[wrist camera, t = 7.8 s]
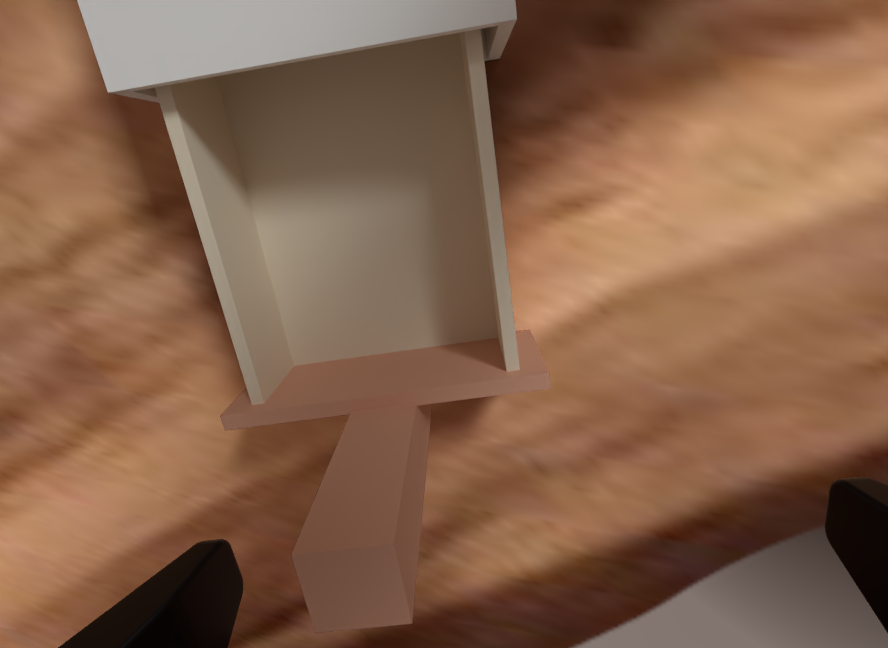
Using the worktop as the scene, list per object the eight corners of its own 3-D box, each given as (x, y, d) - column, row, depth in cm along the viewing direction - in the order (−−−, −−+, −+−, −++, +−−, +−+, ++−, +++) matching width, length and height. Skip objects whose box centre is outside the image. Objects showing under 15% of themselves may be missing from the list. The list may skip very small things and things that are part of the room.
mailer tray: (483, -115, 14) (538, -650, 5) (536, 388, 19) (614, 603, 10) (148, -48, 15) (-371, -404, 5) (282, 421, 19) (129, 651, 10)
